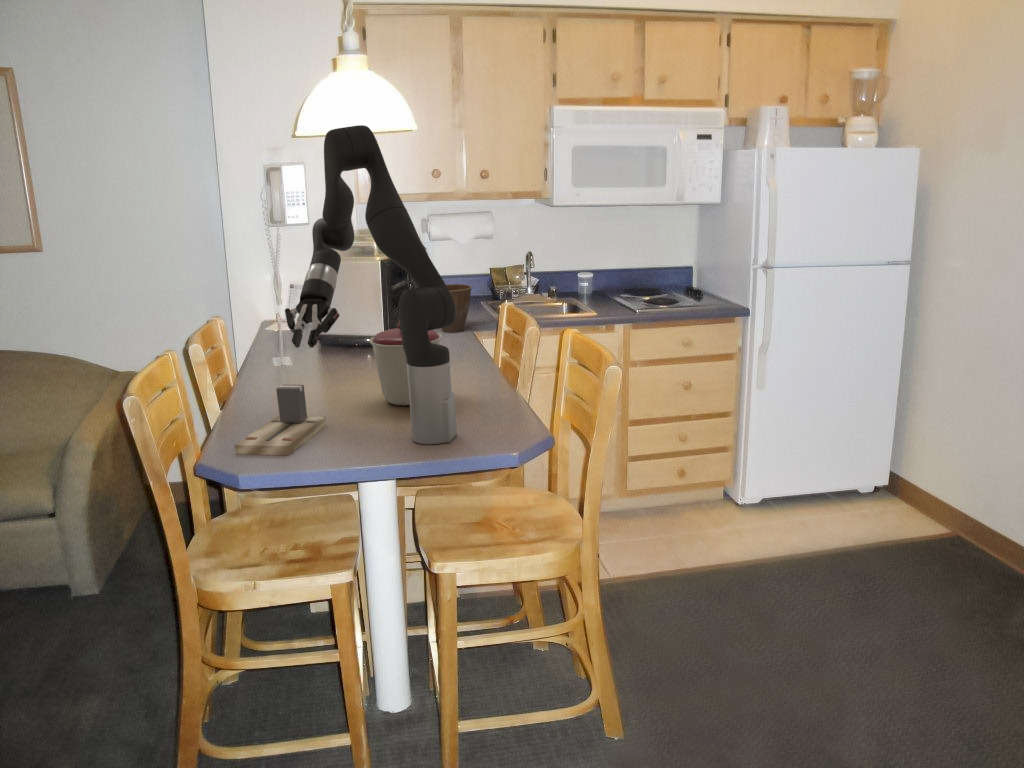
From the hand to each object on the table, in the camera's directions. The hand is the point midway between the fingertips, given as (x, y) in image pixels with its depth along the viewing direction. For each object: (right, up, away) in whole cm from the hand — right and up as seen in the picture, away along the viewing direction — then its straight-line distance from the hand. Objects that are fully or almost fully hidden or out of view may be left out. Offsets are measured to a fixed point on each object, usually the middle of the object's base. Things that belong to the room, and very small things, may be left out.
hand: (303, 345), depth 184 cm
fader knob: (-1, -17, -4) cm, 18 cm away
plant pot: (+28, +10, +101) cm, 105 cm away
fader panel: (-2, -21, -9) cm, 23 cm away
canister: (+23, -14, +16) cm, 31 cm away
